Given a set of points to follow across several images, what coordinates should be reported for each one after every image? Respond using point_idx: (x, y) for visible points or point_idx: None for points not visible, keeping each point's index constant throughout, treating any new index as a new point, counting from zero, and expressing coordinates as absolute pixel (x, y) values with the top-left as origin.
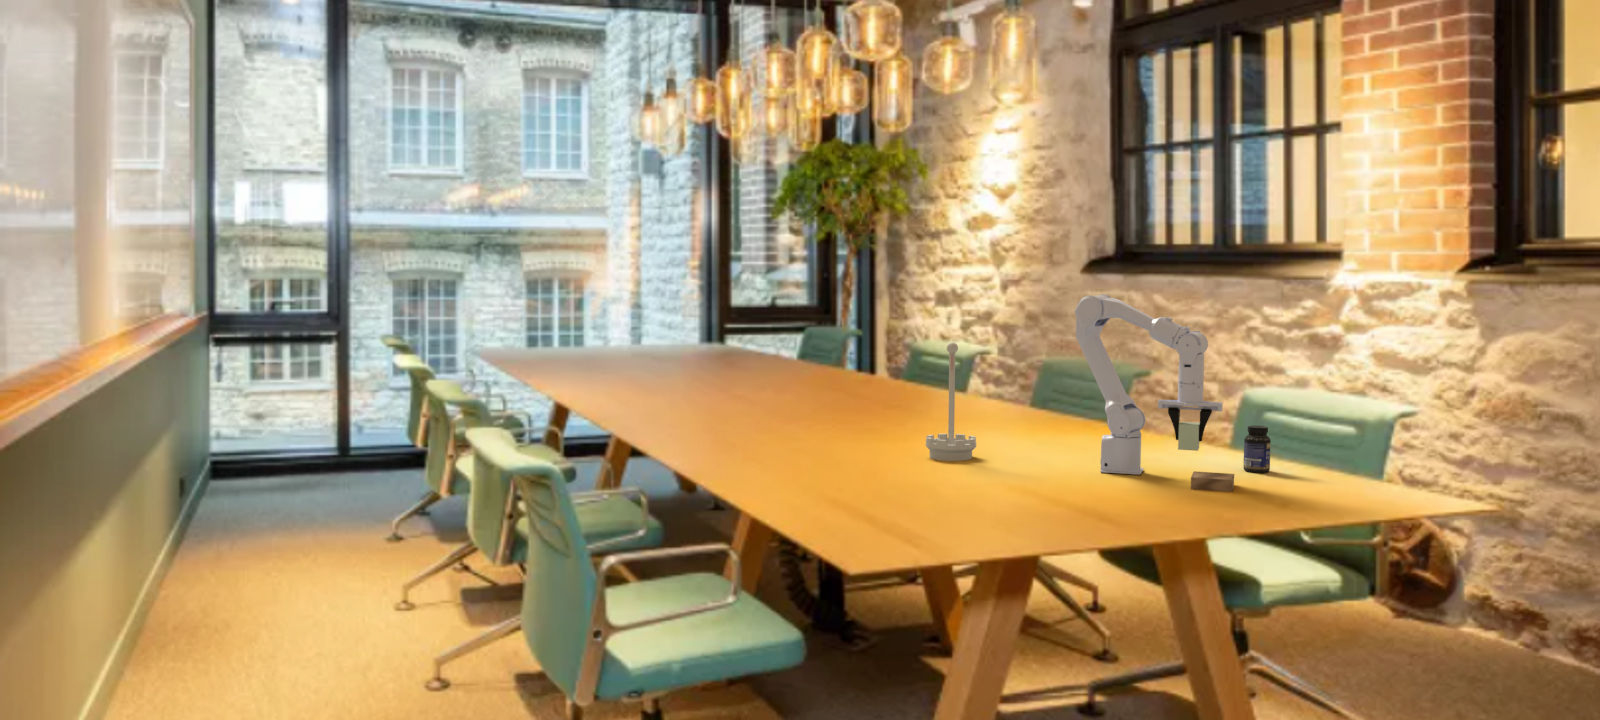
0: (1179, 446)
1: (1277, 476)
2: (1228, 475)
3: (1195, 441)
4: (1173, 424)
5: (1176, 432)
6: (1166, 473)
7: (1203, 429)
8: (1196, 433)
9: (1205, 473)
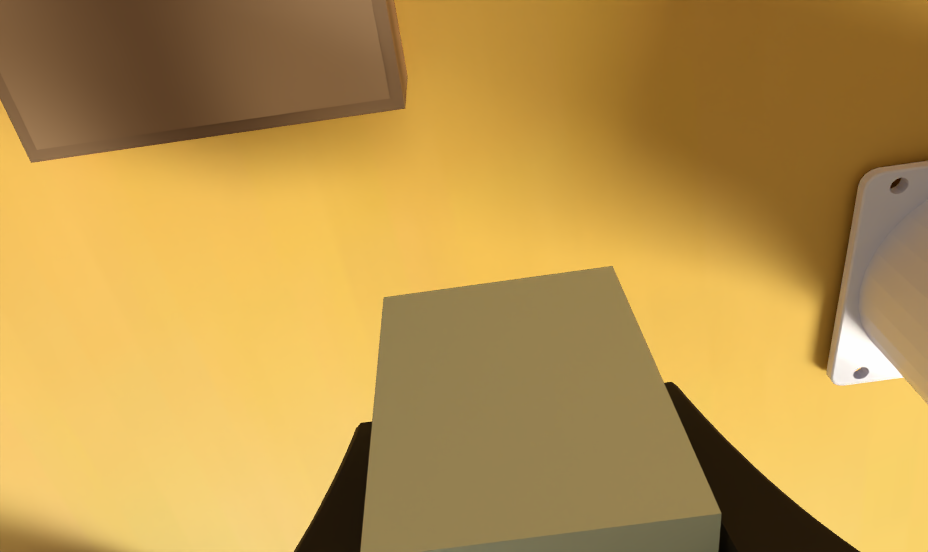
0: (605, 288)
1: (6, 543)
2: (17, 22)
3: (413, 359)
4: (812, 519)
5: (706, 437)
6: (661, 343)
7: (305, 540)
8: (401, 441)
9: (261, 25)
